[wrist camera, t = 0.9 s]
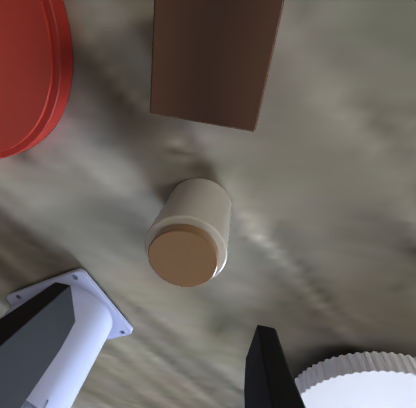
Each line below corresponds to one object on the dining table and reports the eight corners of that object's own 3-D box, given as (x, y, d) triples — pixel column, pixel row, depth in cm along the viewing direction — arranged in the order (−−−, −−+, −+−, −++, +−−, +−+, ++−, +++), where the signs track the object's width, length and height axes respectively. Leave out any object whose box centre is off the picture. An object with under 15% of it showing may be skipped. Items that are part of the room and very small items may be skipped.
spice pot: (187, 241, 20) (167, 301, 15) (157, 192, 19) (123, 240, 14) (242, 222, 19) (240, 281, 14) (214, 167, 17) (200, 210, 12)
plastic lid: (374, 314, 21) (389, 344, 19) (490, 395, 23) (516, 430, 21) (256, 386, 27) (257, 414, 25) (357, 444, 29) (366, 475, 27)
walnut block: (177, 99, 16) (149, 113, 11) (185, 6, 14) (154, -21, 9) (253, 112, 15) (255, 132, 11) (273, 19, 13) (285, -2, 9)
